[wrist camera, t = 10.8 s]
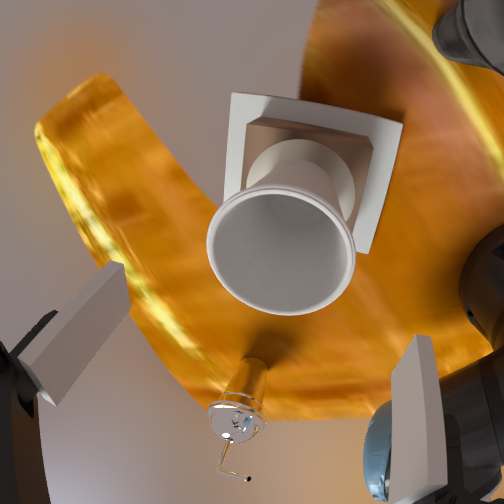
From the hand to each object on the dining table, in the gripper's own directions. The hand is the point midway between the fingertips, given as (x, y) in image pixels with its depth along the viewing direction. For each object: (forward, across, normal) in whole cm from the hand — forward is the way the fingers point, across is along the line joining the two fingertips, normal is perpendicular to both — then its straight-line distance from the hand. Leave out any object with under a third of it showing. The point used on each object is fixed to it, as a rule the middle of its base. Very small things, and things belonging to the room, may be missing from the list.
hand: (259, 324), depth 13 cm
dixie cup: (+15, 0, 0) cm, 15 cm away
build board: (+22, 0, 0) cm, 22 cm away
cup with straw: (+22, +2, +32) cm, 39 cm away
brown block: (+20, 0, 0) cm, 20 cm away
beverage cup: (+22, -12, -17) cm, 30 cm away
